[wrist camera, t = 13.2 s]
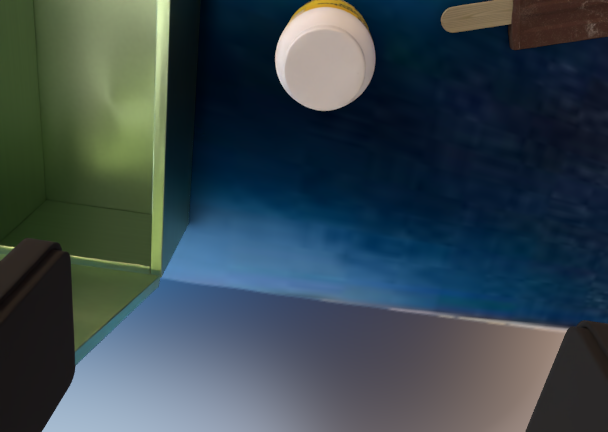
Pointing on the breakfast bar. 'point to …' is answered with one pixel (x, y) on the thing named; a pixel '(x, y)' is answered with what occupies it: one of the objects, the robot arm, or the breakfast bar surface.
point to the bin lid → (103, 302)
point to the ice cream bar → (533, 20)
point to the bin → (98, 127)
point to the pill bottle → (325, 55)
